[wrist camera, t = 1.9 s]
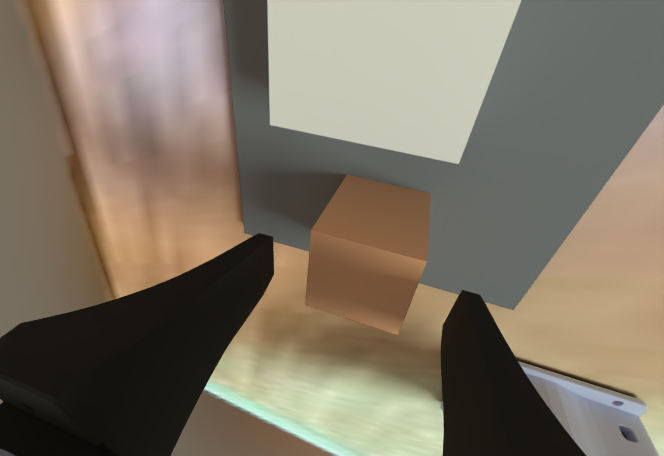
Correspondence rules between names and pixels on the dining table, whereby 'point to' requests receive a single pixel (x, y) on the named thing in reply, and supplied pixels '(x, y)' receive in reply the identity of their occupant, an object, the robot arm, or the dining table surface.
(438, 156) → the base block
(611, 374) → the dining table surface
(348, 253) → the terracotta block
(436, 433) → the dining table surface
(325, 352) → the dining table surface
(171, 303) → the robot arm
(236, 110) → the grey flat plate
